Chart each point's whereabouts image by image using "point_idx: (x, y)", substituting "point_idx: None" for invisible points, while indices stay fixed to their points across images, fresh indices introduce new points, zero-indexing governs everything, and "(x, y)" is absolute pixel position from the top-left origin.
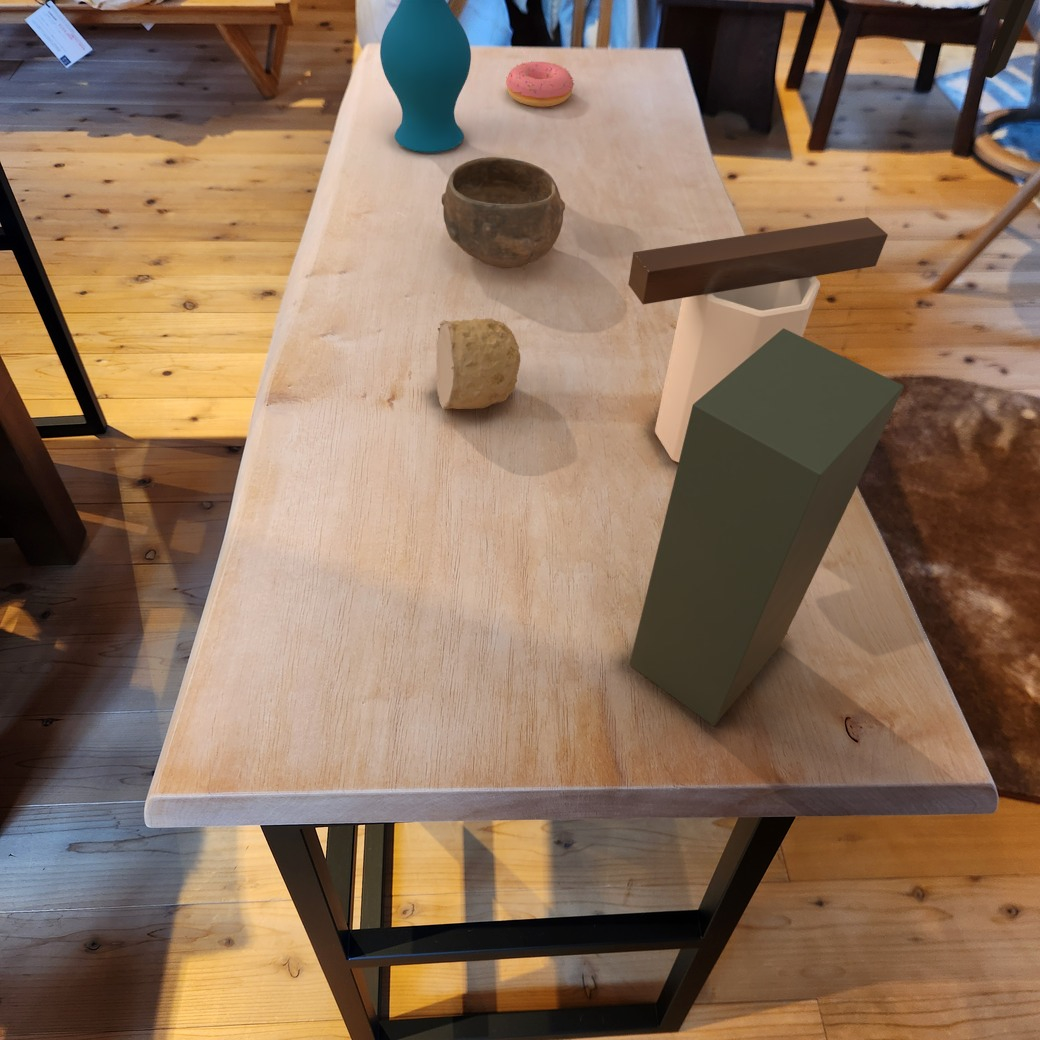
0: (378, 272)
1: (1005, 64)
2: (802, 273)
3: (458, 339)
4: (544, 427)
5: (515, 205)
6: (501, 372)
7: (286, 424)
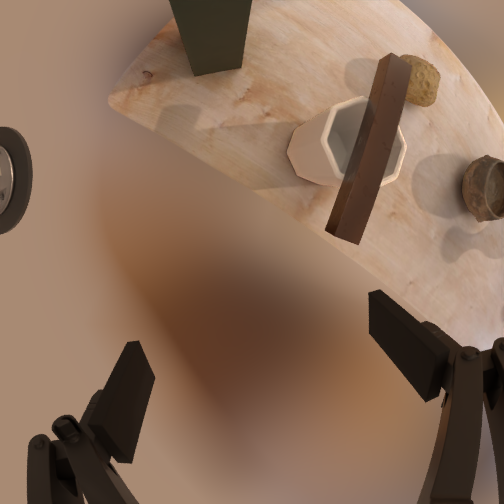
0: (484, 129)
1: (371, 329)
2: (349, 166)
3: (424, 62)
4: None
5: (488, 175)
6: None
7: (420, 26)
